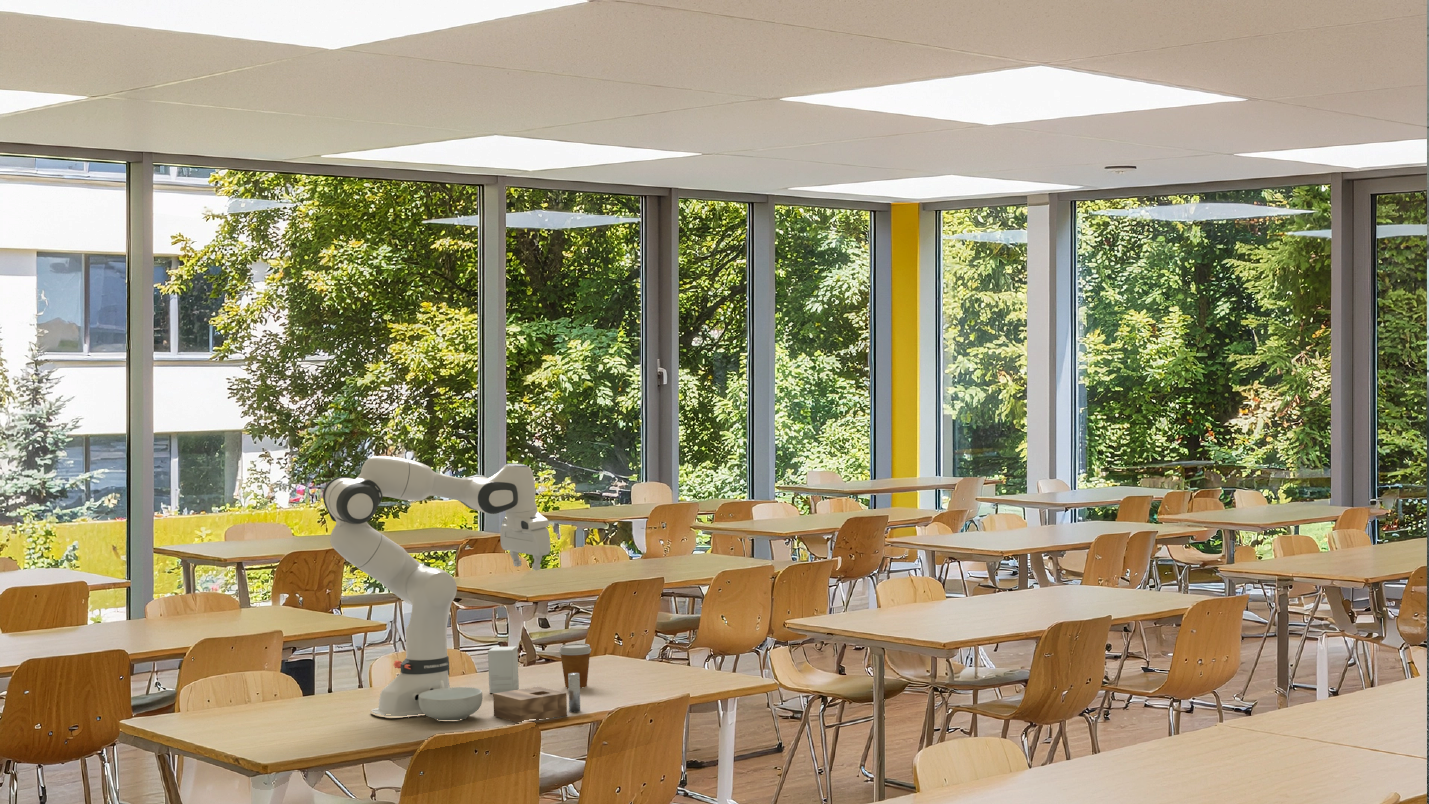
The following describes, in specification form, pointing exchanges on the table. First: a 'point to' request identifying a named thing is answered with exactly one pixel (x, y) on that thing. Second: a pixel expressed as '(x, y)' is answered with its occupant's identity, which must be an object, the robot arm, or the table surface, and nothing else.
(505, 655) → the supplement box
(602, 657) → the table surface
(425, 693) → the cereal bowl
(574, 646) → the disposable coffee cup
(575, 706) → the pin
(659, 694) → the table surface
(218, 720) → the table surface
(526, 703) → the socket block
